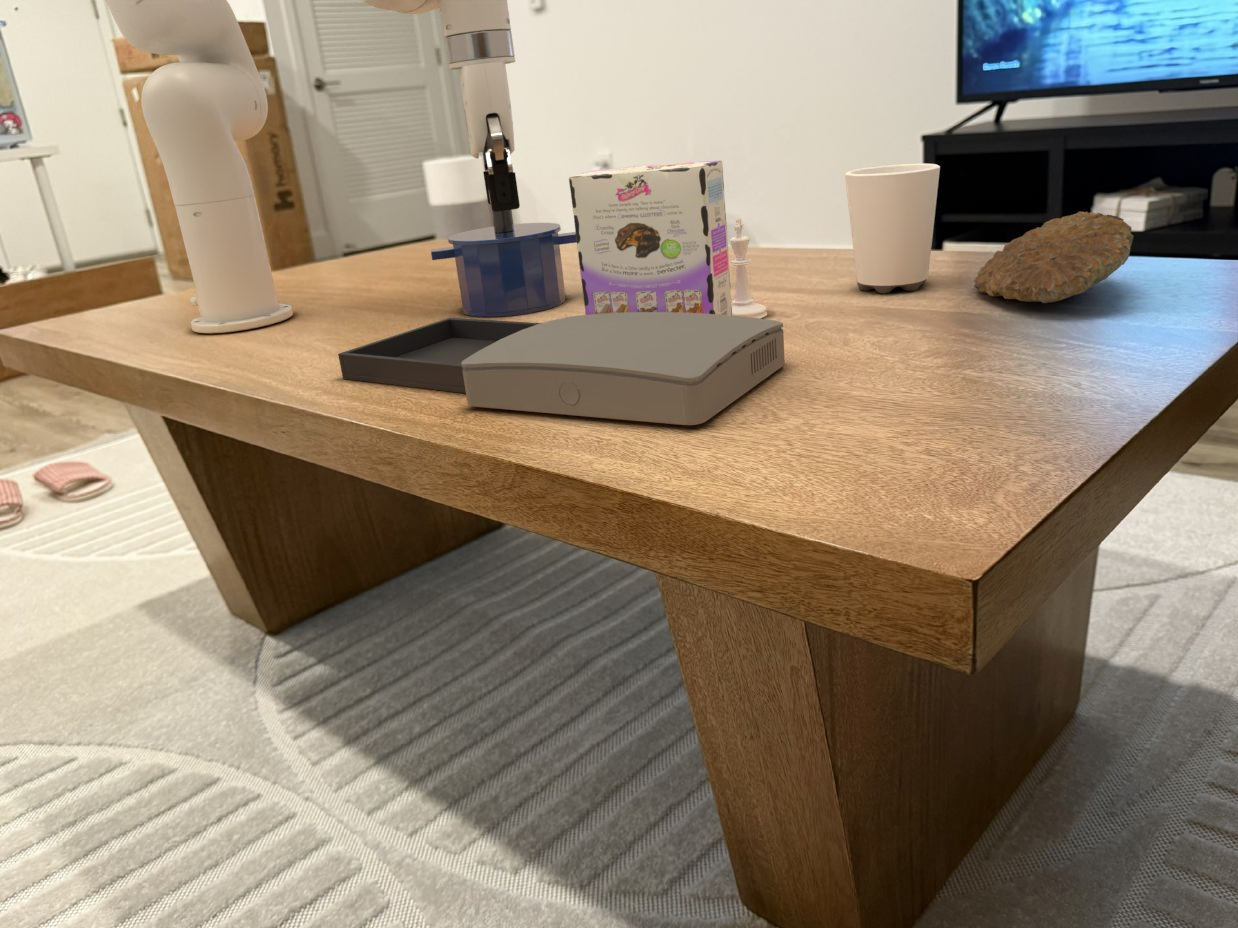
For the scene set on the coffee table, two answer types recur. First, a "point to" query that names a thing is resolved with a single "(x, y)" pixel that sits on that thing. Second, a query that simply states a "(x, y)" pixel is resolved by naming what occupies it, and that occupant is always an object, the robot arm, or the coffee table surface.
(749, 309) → the chess piece
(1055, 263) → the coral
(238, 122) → the robot arm
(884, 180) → the cup
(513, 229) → the lid
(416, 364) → the tray
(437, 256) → the pot
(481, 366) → the electronic device
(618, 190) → the candy box
